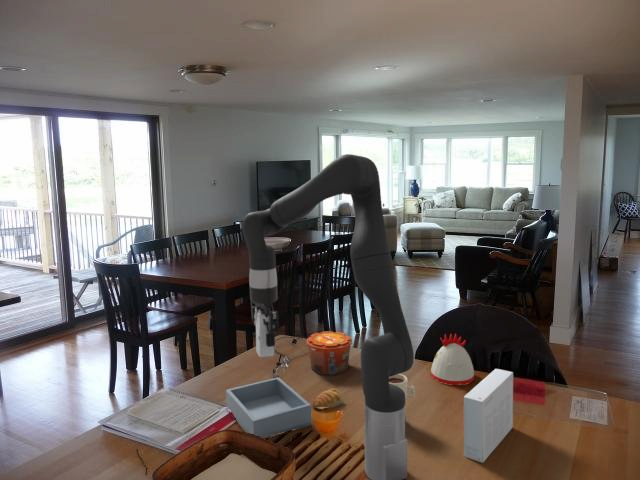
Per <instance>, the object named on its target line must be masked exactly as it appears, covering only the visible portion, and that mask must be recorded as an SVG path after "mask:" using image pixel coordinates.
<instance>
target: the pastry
mask: <svg viewBox="0 0 640 480" xmlns="http://www.w3.org/2000/svg"><path fill="white" fill-rule="evenodd" d="M343 402H344V398H343V396H342V394H341V392H340V390H338V389H336V388H330V389H327V390H326V391H325V390H324V391H322V392H320V394H319V395H317V396H316V398H314V399H313V401H312V408H314V409H316V408H317V407H332V408H334V407H337V406H339V405H341V404H342V403H343Z"/></svg>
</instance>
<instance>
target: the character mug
mask: <svg viewBox="0 0 640 480" xmlns="http://www.w3.org/2000/svg"><path fill="white" fill-rule="evenodd" d="M389 384H392V385H395V386H397V387H399V388H401V389H402V390H403V391H404V393H405V403H406V402H407V400H408V398H414V397H415V396H416V393H415V392H416V388H415V386H414V385H409V379H408V377H407V376H406V375H404V374H403V373H400V374H397V375H394V376H390V377H389ZM409 390H410V391H411V392H410V393H408V392H409ZM406 419H407V418H406V416H405V422H406V421H407V420H406Z"/></svg>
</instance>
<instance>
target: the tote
mask: <svg viewBox="0 0 640 480" xmlns="http://www.w3.org/2000/svg"><path fill="white" fill-rule="evenodd" d="M225 399H226V400H225V404H226V408H227V407H228V408H229V409H230V410H231V412H232V413H233V415H234V417H235V418H236V420H237V421H236V420H235V421H236V422H237V424H238V426H240V427H241V428H242V430H243V431H244V432H245V433H246V432H247V433H250V434H254V435H256V436H260V437H263V438H265V437H266V438H267V437H269V436H273V435H276V434H278V433H282V432H285V431H289V430H292V429H297V430H300V429H304V428H306V427H310V426H312V404H311V403H309V402H308V401H307V400H306V399H305V398H303V396H302V395H300V394H299V393H298V392H297V391H296V390H294V389H293V388H292V387H291V386H289V385H288V384H287V383H286V382H285V381H284V380H282V379H281V378H280V377H273V378H270V379H266V380H265V379H264V380H261V381H256V382H253V383H249V384H245V385H241V386H237V387H236V386H235V387H232V388H228V389H225ZM234 417H233V418H234ZM247 433H246V434H247Z"/></svg>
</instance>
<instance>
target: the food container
mask: <svg viewBox="0 0 640 480" xmlns="http://www.w3.org/2000/svg"><path fill="white" fill-rule="evenodd" d="M352 344H353V338H351V337H350V336H349V335H347V334H346V333H343V332H341V331H336V332H334V331H332V330H331V331H330V330H328V331H326V330H325V331H321V332H315V333H313V334H311V335H310V336H309V337H308V338H307V339H306V345H307V347H308V355H309V359H310V367H311V369H312V370H313V371H314V372H316V373H318V374H321V375H337V374H341V373H344V372H345V371H346V370H347V369H348V367H349V360H350V352H351V346H352Z"/></svg>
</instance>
